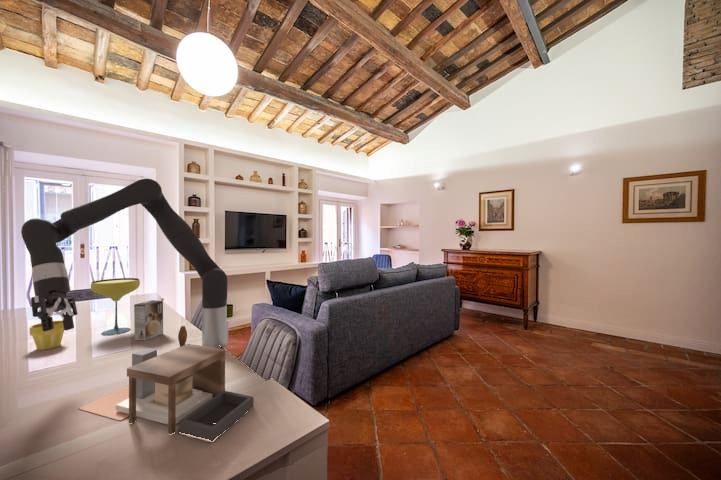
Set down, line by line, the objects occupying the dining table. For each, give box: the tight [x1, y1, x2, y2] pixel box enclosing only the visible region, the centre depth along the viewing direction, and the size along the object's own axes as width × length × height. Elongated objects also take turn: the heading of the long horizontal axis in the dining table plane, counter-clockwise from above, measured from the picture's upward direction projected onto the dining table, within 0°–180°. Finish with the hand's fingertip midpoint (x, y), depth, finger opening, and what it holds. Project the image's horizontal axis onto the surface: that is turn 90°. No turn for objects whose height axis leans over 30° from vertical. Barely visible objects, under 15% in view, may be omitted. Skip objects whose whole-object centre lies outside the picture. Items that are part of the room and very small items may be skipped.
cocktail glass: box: [90, 277, 141, 336], centre depth 137 cm, size 18×18×25 cm
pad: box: [78, 385, 129, 421], centre depth 81 cm, size 16×16×1 cm
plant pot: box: [29, 320, 65, 351], centre depth 117 cm, size 10×10×10 cm
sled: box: [116, 347, 213, 425], centre depth 77 cm, size 12×20×14 cm, turn 73°
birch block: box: [155, 375, 192, 407], centre depth 76 cm, size 6×6×6 cm
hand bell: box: [177, 325, 188, 347], centre depth 96 cm, size 8×8×16 cm
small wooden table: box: [126, 343, 226, 434], centre depth 75 cm, size 17×14×14 cm
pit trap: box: [178, 390, 255, 441], centre depth 71 cm, size 14×10×3 cm
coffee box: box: [133, 300, 164, 341], centre depth 130 cm, size 9×6×16 cm
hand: (59, 329), depth 86 cm, fingers open, 8 cm apart
